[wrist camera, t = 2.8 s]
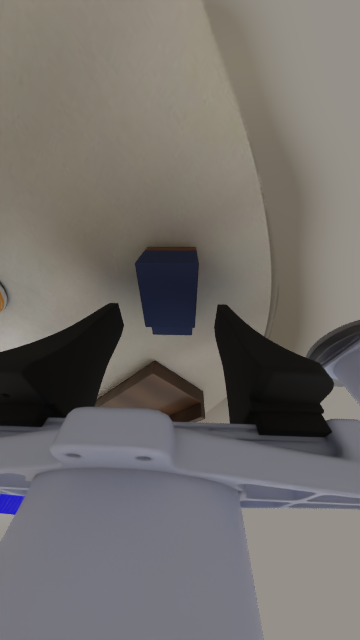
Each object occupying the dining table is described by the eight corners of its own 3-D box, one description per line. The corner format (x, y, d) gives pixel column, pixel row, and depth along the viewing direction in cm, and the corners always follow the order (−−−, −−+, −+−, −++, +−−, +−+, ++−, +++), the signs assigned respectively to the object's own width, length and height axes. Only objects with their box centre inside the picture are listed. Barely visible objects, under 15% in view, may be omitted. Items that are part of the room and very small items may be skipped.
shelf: (155, 360, 22) (149, 388, 19) (203, 391, 26) (205, 418, 23) (52, 429, 38) (39, 451, 35) (92, 442, 42) (84, 462, 39)
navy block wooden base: (147, 246, 14) (134, 262, 10) (196, 246, 13) (198, 263, 10) (155, 320, 18) (148, 347, 15) (192, 320, 18) (193, 348, 15)
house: (57, 462, 55) (31, 517, 45) (-15, 446, 47) (-65, 508, 38) (70, 454, 49) (42, 515, 40) (-10, 435, 42) (-67, 504, 32)
